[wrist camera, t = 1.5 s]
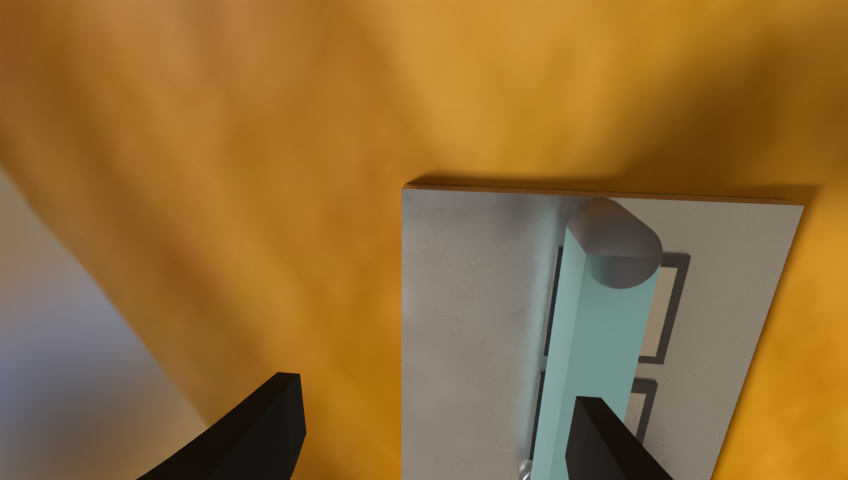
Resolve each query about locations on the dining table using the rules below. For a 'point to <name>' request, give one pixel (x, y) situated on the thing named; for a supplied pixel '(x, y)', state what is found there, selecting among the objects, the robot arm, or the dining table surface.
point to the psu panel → (534, 311)
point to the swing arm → (595, 322)
